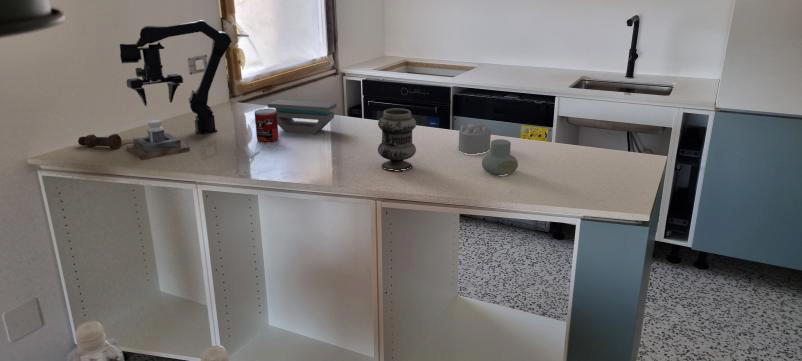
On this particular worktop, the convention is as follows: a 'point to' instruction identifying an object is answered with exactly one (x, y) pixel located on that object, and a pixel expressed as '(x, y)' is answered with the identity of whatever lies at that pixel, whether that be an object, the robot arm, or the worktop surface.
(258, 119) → the canned food
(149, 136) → the pill bottle
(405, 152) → the apothecary jar
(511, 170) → the air freshener
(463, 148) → the lumpy-topped squat cylinder
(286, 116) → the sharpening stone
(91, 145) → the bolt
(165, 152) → the collar board
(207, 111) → the robot arm
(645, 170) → the worktop surface
